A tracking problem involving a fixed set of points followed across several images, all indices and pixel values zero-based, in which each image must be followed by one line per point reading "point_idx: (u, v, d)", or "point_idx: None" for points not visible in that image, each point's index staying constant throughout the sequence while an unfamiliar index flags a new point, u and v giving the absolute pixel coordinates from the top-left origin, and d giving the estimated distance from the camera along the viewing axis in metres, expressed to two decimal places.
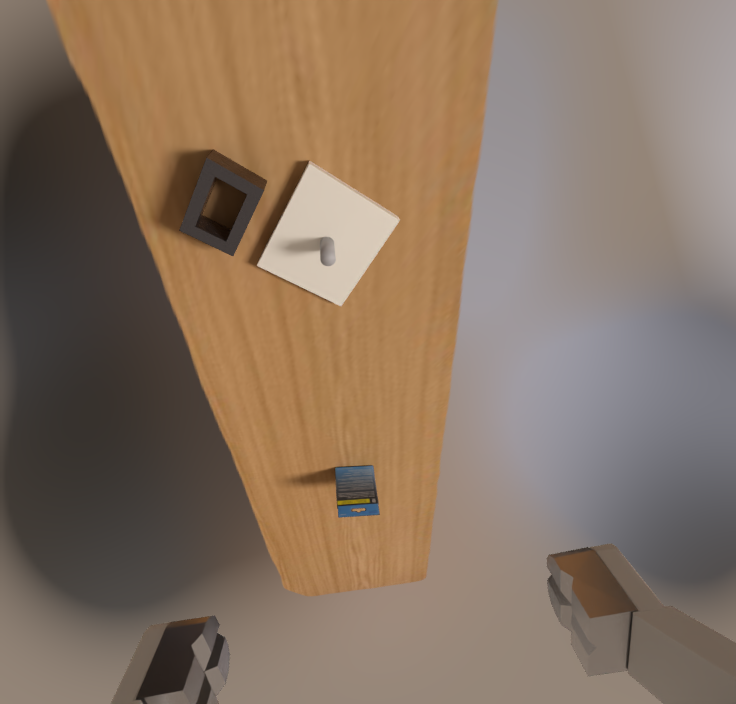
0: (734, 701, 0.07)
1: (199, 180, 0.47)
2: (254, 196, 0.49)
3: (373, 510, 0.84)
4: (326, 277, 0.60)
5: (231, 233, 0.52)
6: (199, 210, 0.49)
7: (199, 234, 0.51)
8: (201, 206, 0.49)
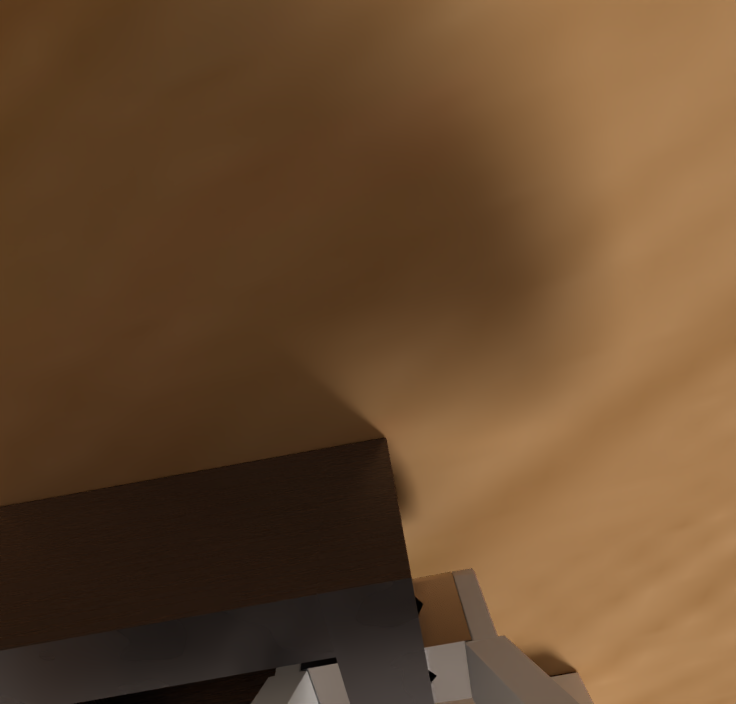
0: None
1: (235, 615, 0.06)
2: None
3: None
4: None
5: None
6: (55, 698, 0.07)
7: None
8: (90, 694, 0.07)
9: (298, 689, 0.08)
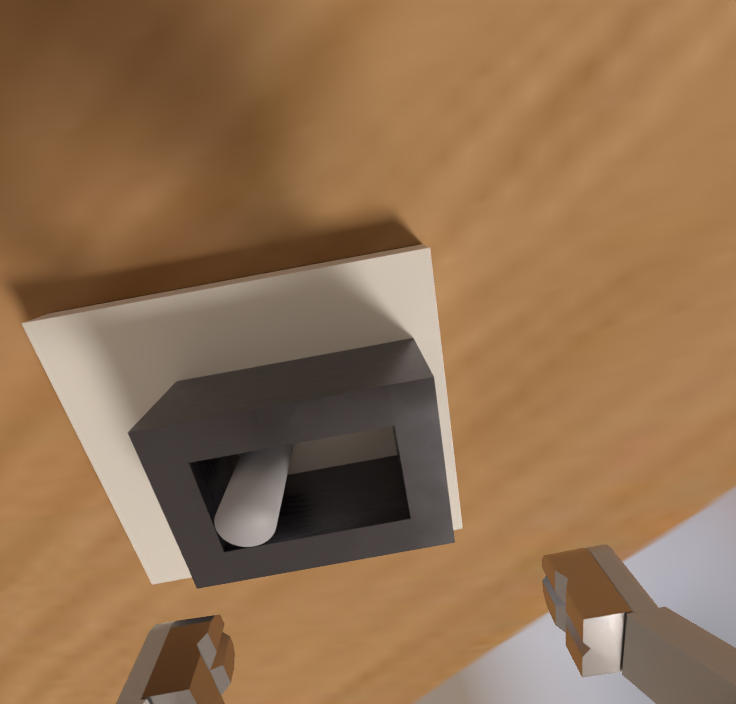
0: (726, 702, 0.07)
1: (347, 396, 0.13)
2: (419, 534, 0.15)
3: None
4: None
5: (262, 548, 0.15)
6: (252, 445, 0.13)
7: (174, 485, 0.14)
8: (270, 443, 0.13)
9: None
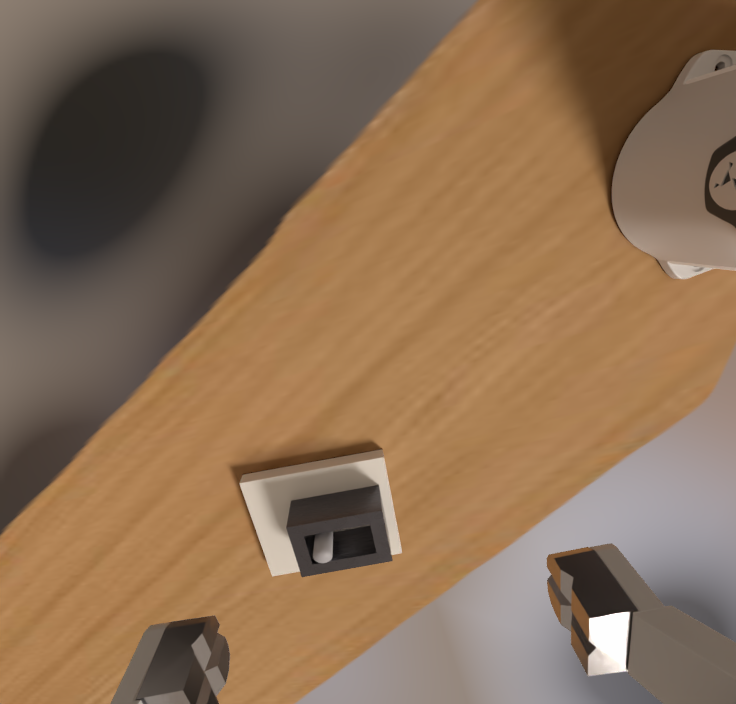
0: (733, 700, 0.07)
1: (355, 516, 0.41)
2: (379, 558, 0.43)
3: None
4: (290, 543, 0.47)
5: (325, 563, 0.43)
6: (324, 530, 0.41)
7: (298, 543, 0.42)
8: (330, 530, 0.41)
9: None
